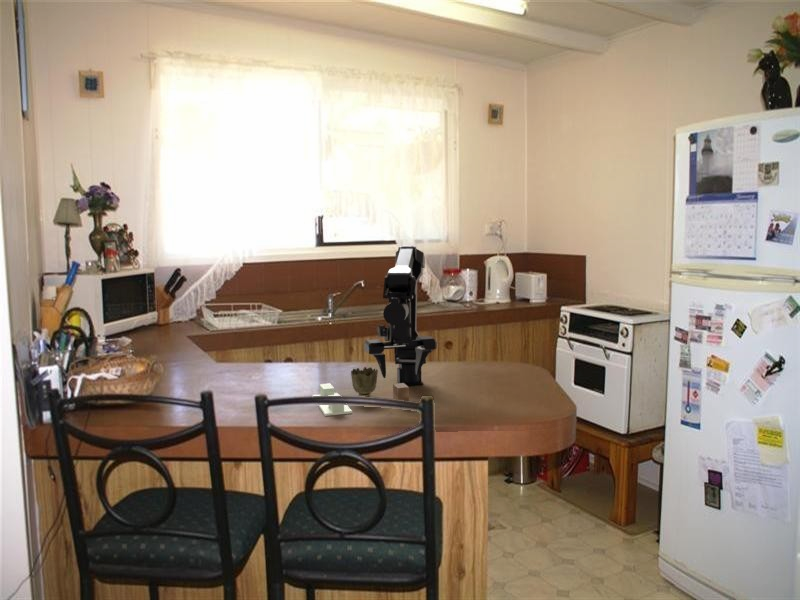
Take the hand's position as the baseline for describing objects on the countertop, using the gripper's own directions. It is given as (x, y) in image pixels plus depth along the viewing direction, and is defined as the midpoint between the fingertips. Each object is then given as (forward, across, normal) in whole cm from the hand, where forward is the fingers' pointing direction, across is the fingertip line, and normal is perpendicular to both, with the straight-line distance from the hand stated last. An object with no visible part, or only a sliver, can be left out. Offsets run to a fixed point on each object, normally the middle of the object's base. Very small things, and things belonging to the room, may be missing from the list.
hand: (400, 376), depth 170 cm
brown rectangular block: (+8, 0, 0) cm, 8 cm away
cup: (+8, +8, -8) cm, 14 cm away
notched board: (+7, +18, -5) cm, 20 cm away
